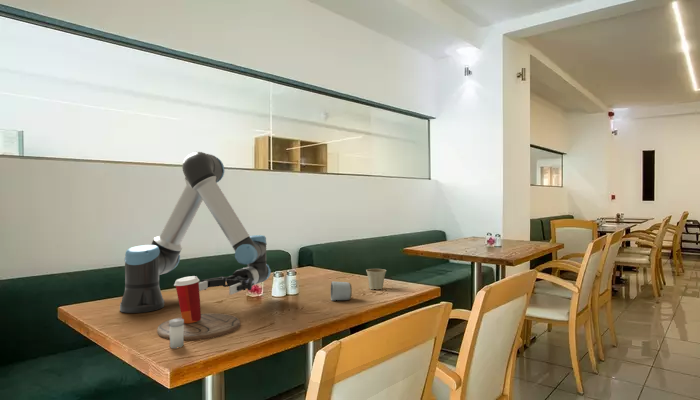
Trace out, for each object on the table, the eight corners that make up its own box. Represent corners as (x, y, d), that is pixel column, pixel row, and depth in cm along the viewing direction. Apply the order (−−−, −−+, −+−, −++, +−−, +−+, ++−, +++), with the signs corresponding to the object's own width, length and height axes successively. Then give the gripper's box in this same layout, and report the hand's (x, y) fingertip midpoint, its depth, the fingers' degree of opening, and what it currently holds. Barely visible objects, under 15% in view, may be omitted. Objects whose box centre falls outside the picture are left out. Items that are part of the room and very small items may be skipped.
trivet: (208, 315, 155) (208, 309, 155) (256, 326, 141) (256, 321, 141) (141, 332, 135) (141, 326, 135) (188, 348, 120) (188, 341, 120)
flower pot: (376, 286, 204) (376, 267, 204) (390, 289, 197) (390, 270, 197) (361, 288, 198) (361, 270, 198) (375, 292, 191) (375, 272, 191)
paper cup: (204, 314, 145) (198, 274, 144) (204, 321, 138) (199, 278, 137) (179, 320, 142) (173, 278, 141) (178, 326, 135) (173, 283, 134)
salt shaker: (166, 347, 119) (166, 321, 119) (175, 343, 123) (175, 318, 123) (178, 349, 118) (178, 322, 118) (186, 344, 122) (186, 319, 122)
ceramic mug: (352, 301, 173) (352, 282, 173) (332, 302, 171) (332, 283, 171) (347, 296, 183) (347, 278, 183) (329, 297, 182) (328, 278, 182)
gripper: (274, 289, 161) (245, 302, 141) (216, 286, 168) (181, 298, 148) (274, 269, 161) (245, 280, 141) (216, 267, 168) (181, 276, 148)
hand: (212, 289), depth 145 cm, fingers open, 13 cm apart
